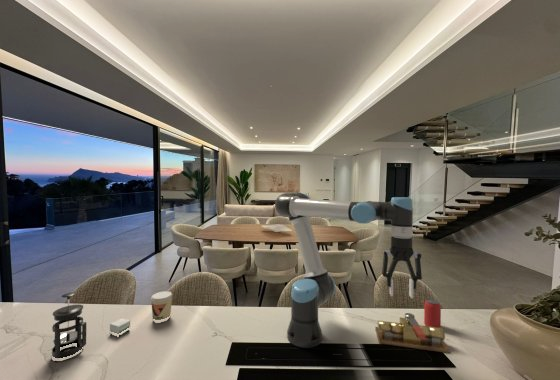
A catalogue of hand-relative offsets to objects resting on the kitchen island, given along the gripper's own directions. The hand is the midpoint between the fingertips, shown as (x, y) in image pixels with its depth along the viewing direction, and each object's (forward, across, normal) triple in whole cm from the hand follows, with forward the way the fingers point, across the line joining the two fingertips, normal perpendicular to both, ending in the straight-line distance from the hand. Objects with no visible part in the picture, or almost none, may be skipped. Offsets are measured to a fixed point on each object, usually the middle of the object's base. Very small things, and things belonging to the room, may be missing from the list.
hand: (401, 295), depth 95 cm
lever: (+14, +6, +4) cm, 15 cm away
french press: (+23, -125, -30) cm, 131 cm away
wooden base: (+23, +6, +10) cm, 26 cm away
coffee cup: (+23, -108, 0) cm, 110 cm away
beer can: (+23, +20, +26) cm, 40 cm away
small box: (+23, -118, -14) cm, 121 cm away
